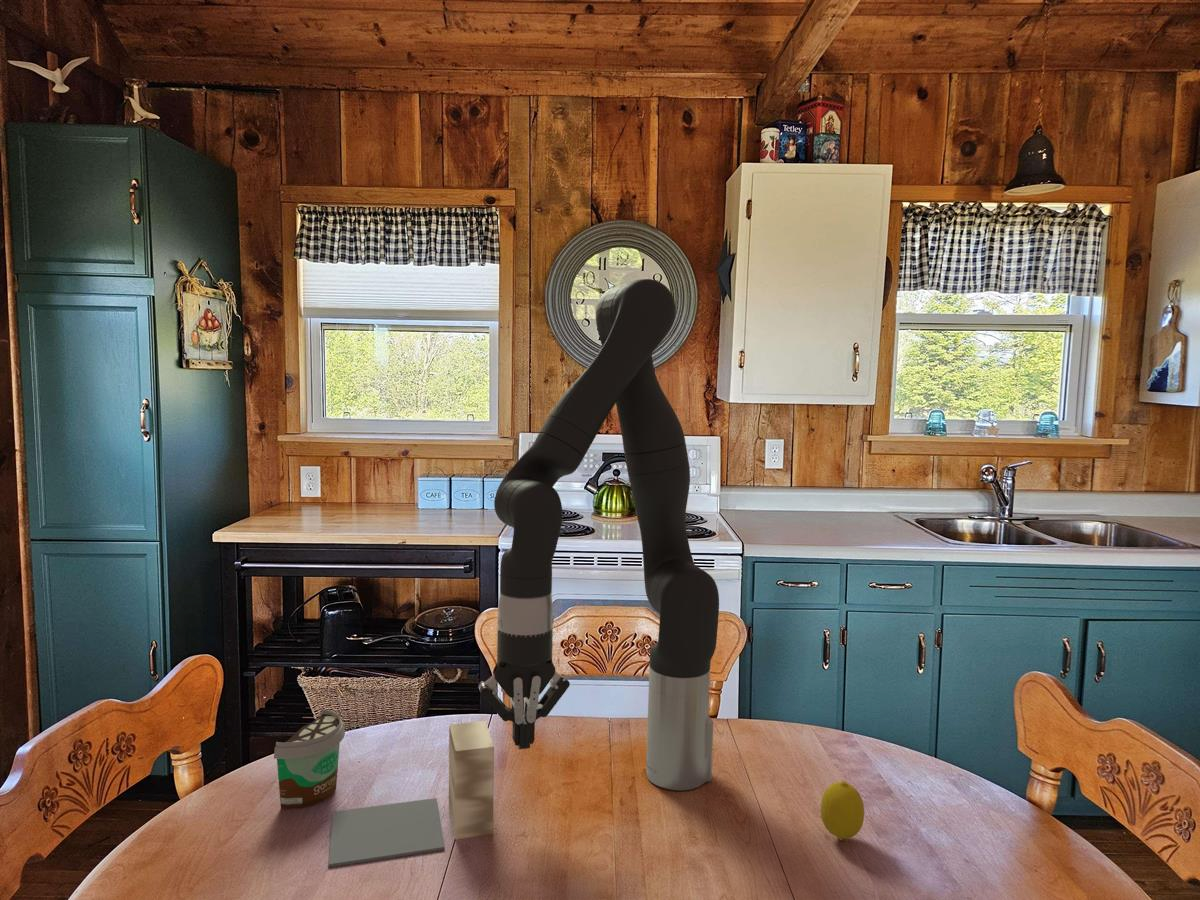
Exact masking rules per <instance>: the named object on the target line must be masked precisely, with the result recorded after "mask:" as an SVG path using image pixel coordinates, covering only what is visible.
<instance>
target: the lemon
mask: <svg viewBox="0 0 1200 900" xmlns="http://www.w3.org/2000/svg"><path fill="white" fill-rule="evenodd" d="M821 797H822V798H821V802H820V817H821V821H822V823H823V825H824V827H825V829H826V830H827V831H828V833H830V834H831V835H833V836H834V837H836V838H837V839H838V838H839V839H844V840H845V839H850V838H851V839H852V838H853V837H854V836H857V834H859V832H860V831H861V829H862V827H863V824H864V820H865V819H864V818H865V806H864V801H863V799H862V796H861V794H860V792H859V791H858V790H857V789H856V787H854V785H852V784H849V783H847V781H844V780H842V781H838V782H834V783H832V784H830V785H829V786H828V787H826V789H825V790H824V793H823V794H822V796H821ZM839 839H838V840H839Z"/></svg>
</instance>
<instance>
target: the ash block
mask: <svg viewBox="0 0 1200 900" xmlns="http://www.w3.org/2000/svg"><path fill="white" fill-rule="evenodd" d="M448 725H449V726H448V727H449V728H448V729H449V731H448V733H449V735H448V737H449V738H448V739H449V740H448V742H449V743H448V811H449V816H450V821H451V825H452V826H451V828H452V831H453V837H454V840H460V839H467V838H475V837H480V836H487V835H488V836H489V835H493V834H494V797H495V796H494V795H495V794H494V793H495V792H494V791H495V790H494V787H495V786H494V785H495V782H494V781H495V780H494V779H495V778H494V777H495V745H494V742H493V740H492V736H491V734H490V730H489V728H488V726H487V722H486V720H482V721H481V720H479V721H470V722H463V723H461V722H460V723H452V724H448Z"/></svg>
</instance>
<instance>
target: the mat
mask: <svg viewBox="0 0 1200 900" xmlns="http://www.w3.org/2000/svg"><path fill="white" fill-rule="evenodd" d="M330 829H331V830H330V831H331V832H330V842H329V853H328V868H334V867H340V866H345V865H346V866H348V865H353V864H360V863H367V862H373V861H379V860H387V859H392V858H401V857H405V856H413V855H420V854H427V853H432V852H440V851H445V849H446V847H445V841H444V840H445V839H444V834H443V828H442V822H441V816H440V810H439V805H438V799H437V797H434V798H427V799H418V800H411V801H404V802H403V801H402V802H395V803H388V804H382V805H379V804H378V805H372V806H366V807H358V808H352V809H344V810H343V809H342V810H335V811H332V816H331V827H330Z"/></svg>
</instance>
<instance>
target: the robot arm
mask: <svg viewBox="0 0 1200 900" xmlns="http://www.w3.org/2000/svg"><path fill="white" fill-rule="evenodd" d="M676 310H677V309H676V302H675V298H674V296H673V294H672V292H671V291H670V289H669V288H668V287H667V286H666V284H663V282H661V281H658V280H656V279H651V278H643V279H635V280H632V281H628V282H626V283H623V284H622V283H621V284H619V285H615V286H613V287H611V288H609V289H608V290H606V291H604V293H603V294H602V295H601V296H600V298H599V300H598V302H597V305H596V309H595V325H596V329H597V332H598V337H599V341H600V344H601V348H600V350H599V352H597V355H596V356H595V357H594V359H593V360H592V361H591V363H590V364H589V365H588V367H586V368H585V370H584V371H583V372H582V374H581V375H579V377H578V378H577V379H576V380H575V381H574V382H573V383H572V384H571V385H570V387H569V388H568V389H567V390H566V391H565V392H564V394H563V395H562V396H561V397H560V399H559V400H558V401H557V403H556V404H555V406H554V407H553V409H552V410H551V412H550V413H549V415H548V417H547V419H546V420H545V422H544V423H543V426H542V427H541V429H540V431H539V433H538V434H537V437H536V438H535V440H534V442H533V443H532V445H530V447H529V448H528V449H527V450H526V451H525V452H524V453H523V455H522V456H521V457H520V458H519V459H518V460H517V461H516V463H515V464H514V465H513V466H512V467H511V468H510V470H508V471H507V473H506V475H504V477H503V478H502V480H501V482H500V483H499V485H498V487H497V490H496V492H495V493H496V494H495V497H494V501H493V502H494V503H493V505H494V512H495V515H496V516H497V518H498V519H499V521H501V522H502V523H503V524H505V525H506V526H509V527H512V528H513V535H512V536H513V537H512V543H511V548H508V549H506V551H504V552H503V554H502V555H501V558H500V559H501V560H500V568H499V569H500V573H499V574H500V575H499V577H500V579H499V599H498V605H497V633H496V634H497V638H496V639H497V641H496V642H497V643H496V644H497V645H496V664H495V666H494V668H493V670H492V675H491V676H490V677H489V678H488V679H487V680H485V681H484V680H482V681H480V682H479V683H478V685H477V687H478V689H479V692H480V695H481V697H482V698H483V699H484V700H485V701H486V702H487V704H488V705H489V706H490V707H491V708H492V709H493V711H495V713H496V714H497V715H498V716H499V717H500V718H501V719H502V721H504V722H509V721H510V722H512V732H511V733H512V737H511V738H512V740H513V742H514V745H515V747H516V746H517V748H518V750H527V749H528V750H529V749H531V745H533V744H534V742H535V737H536V736H535V733H536V731H535V730H536V725H535V724H536V721H537V720H538V719H539V718H546V717H548V716H549V714H550V713H551V711H552V710H553V708H554V707H555V706H556V705H557V703H558V702H559V701H560V699H562V697H563V696H564V695H565V693H566V691H568V689H569V688H570V686H571V684H570V681H569V680H568V678H567V677H566V675H565V674H564V673H559V672H558V671H556V667H555V666H556V665H555V664H554V663H553V632H554V629H553V627H554V626H553V625H554V619H555V617H554V603H553V595H552V593H553V592H552V591H553V590H552V589H553V559H554V556H555V554H556V550H557V545H558V542H559V538H560V534H561V528H562V525H563V505H562V500H561V497H560V494H559V493H558V491H557V490H556V489H555V488H554V486H555V484H556V483H557V482H558V481H559V480H560V478H563V477H565V476H568V475H569V476H570V475H572V474H574V472H575V471H576V470H577V469H578V468H579V467H580V465H581V463H582V461H583V460H584V458H585V456H586V455H587V453H588V450H590V447H591V445H592V443H593V442H594V441H595V438H596V437H597V435H598V433H599V431H600V429H601V428H602V427H603V424H604V423H605V421H606V419H607V418H608V416H609V415H610V413H611V411H612V410H613V408H614V407H615V406H616V412H617V417H618V423H619V427H620V433H621V439H622V446H623V452H624V460H625V464H626V466H625V467H626V470H627V476H628V480H629V485H630V488H631V494H632V495H631V496H632V500H633V505H634V510H635V514H636V517H637V523H638V526H639V531H640V532H639V533H640V538H641V547H642V561H643V563H642V564H643V580H644V589H645V595H646V597H647V600H648V602H649V604H650V606H651V607H652V609H653V610H654V611H655V612H656V613H657V614H659V624H658V639H657V640H658V641H657V642H655V643H654V644H653V645H652V646H651V647H650V650H649V666H648V667H649V668H648V669H649V670H648V698H647V699H648V702H647V704H648V705H647V728H646V729H647V730H646V731H647V732H646V758H645V774H646V775H645V777H646V778H647V779H648V781H650V782H651V783H652V784H654V785H655V786H658V787H659V788H663V789H665V790H670V791H688V790H694V789H697V788H700V787H701V786H703V784H705V783H707V782H711V781H712V775H713V774H712V773H713V772H712V771H713V769H712V768H713V748H714V747H713V745H714V720H713V719H712V718H711V717H710V716H709V711H710V708H709V706H710V686H711V685H710V682H711V681H710V680H711V662H712V658H713V656H714V654H715V651H716V649H717V639H718V627H719V614H720V595H719V590H718V589H719V588H718V586H717V583H716V581H715V579H714V578H713V577H712V575H711V574H710V573H708V572H706V570H704V569H703V568H700V567H699V566H697V565H696V564H695V562H694V558H693V555H692V551H691V549H690V547H691V546H690V543H689V539H688V534H687V528H686V527H687V526H686V524H687V523H686V513H687V506H688V499H689V493H690V484H691V473H690V472H691V469H690V468H691V467H690V462H689V461H690V460H689V455H688V449H687V443H686V437H685V434H684V430H683V427H682V424H681V421H680V419H679V418H678V416H677V414H676V412H675V410H674V408H673V406H672V404H671V403H670V401H669V400H668V398H667V396H666V394H665V393H664V391H663V389H662V387H661V384H660V383H659V380H658V378H657V375H656V371H655V367H654V359H653V355H652V354H653V353H654V351H655V350H656V349H657V348H658V346H659V345H660V344H661V343H662V342H663V340H664V339H665V338H666V336H667V335H668V334H669V332H670V331H671V329H672V327H673V325H674V322H675V319H676V312H677V311H676ZM497 685H499V686H500V688H502V690H503V691H504V693H505V694H506V695H507V696H508V697H510V698H509V700H510V706H511V707H508V706H507V705H506V704H505V703H504V702H503V700H502V699H501V698H500V697H499V696H498V695H497V694H498V692H499V691H498V688H497ZM548 685H549V686H550V687H549V688H548V689H547V690H546V691H545V692H544V690H545V689H546V687H547V686H548ZM543 692H544V694H543V696H542V697H540V700H539V696H540V695H541V694H542V693H543Z"/></svg>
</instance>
